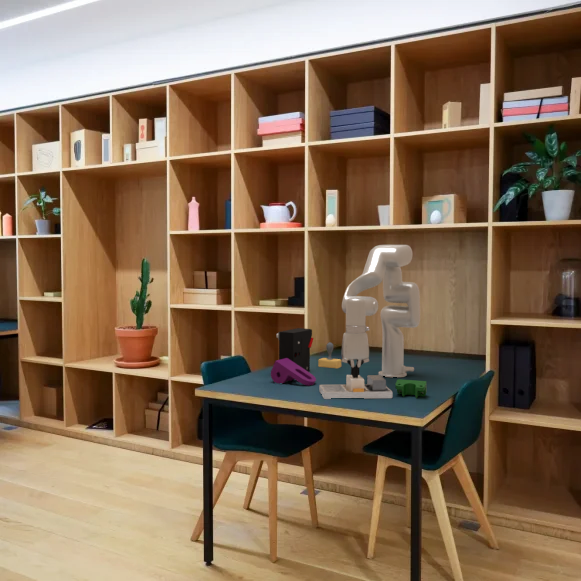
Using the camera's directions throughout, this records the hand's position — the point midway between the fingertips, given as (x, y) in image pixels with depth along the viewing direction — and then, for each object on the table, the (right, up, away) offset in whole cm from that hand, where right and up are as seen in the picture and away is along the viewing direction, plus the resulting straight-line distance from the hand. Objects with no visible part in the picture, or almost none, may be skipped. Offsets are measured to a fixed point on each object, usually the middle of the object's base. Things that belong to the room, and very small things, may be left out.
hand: (355, 377), depth 240 cm
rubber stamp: (-6, -4, +62) cm, 62 cm away
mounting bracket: (-23, -6, +22) cm, 33 cm away
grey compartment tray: (0, -7, 0) cm, 7 cm away
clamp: (+21, -7, -2) cm, 22 cm away
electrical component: (-23, -5, +42) cm, 49 cm away
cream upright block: (0, -6, 0) cm, 6 cm away
